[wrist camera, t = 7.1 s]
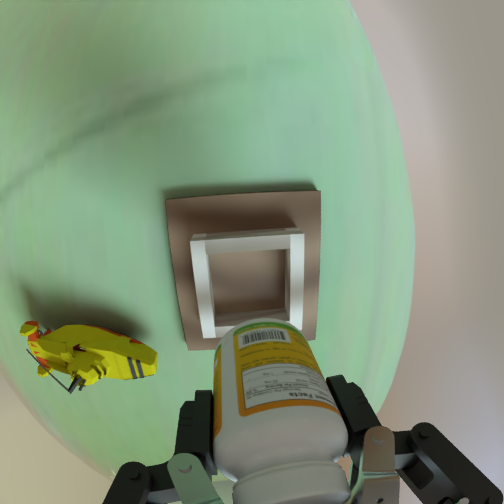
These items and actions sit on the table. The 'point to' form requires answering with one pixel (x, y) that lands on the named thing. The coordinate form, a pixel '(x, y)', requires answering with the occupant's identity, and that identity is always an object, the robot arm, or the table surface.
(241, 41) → the table surface
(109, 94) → the table surface
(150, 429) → the table surface
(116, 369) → the toy boat
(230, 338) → the supplement bottle
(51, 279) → the table surface
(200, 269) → the jig board
